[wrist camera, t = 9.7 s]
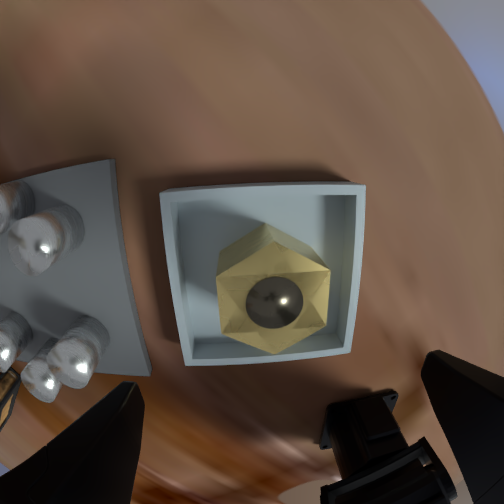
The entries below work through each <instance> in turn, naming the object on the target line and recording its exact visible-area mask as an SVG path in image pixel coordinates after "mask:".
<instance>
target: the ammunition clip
mask: <svg viewBox="0 0 504 504" xmlns="http://www.w3.org/2000/svg"><path fill="white" fill-rule="evenodd" d="M20 383H21V376H20V375H19V374H18V373H17V372H16V371H15V370H14V369H13V368H11V367H9V368H8V370H7V371H6V372H4V373H1V375H0V432H1V430H2V428H3V427H4V425H5V424H6V422H7V420H8V419H9V417H10V416H11V413H12V410H13V406H14V403H15V399H16V396H17V393H18V389H19V386H20Z"/></svg>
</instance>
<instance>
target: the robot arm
mask: <svg viewBox="0 0 504 504" xmlns="http://www.w3.org/2000/svg"><path fill="white" fill-rule="evenodd" d="M421 378H422V381H423V383H424V386H425V389H426V391H427V394H428V396H429V399H430V402H431V405H432V407H433V410H434V412H435V415H436V417H437V419H438V421H439V423H440V425H441V427H442V429H443V432H444V434H445V436H446V438H447V440H448V442H449V445H450V447H451V449H452V451H453V454H454V456H455V458H456V460H457V463H458V465H459V468H460V470H461V472H462V475H463V477H464V480H465V482H466V484H467V487H468V490H469V492H470V495H471V498H472V501H473V502H474V504H504V377H502V376H499V375H497V374H495V373H492V372H490V371H487V370H485V369H483V368H480V367H478V366H476V365H473V364H471V363H469V362H466V361H464V360H462V359H459V358H457V357H455V356H452V355H450V354H448V353H446V352H443V351H441V350H435V351H431V352H429V353H428V354H427V355H426V358H425V361H424V364H423V367H422V370H421ZM397 399H398V393H397V392H396V391H390V392H386V393H382V394H378V395H374V396H370V397H365V398H361V399H356V400H351V401H346V402H340V403H335V404H331V405H329V406H328V407H327V409H326V414H325V419H324V424H323V429H322V433H321V438H320V442H319V447H320V449H322V450H324V449H330V448H332V449H333V452H334V456H335V459H336V462H337V465H338V468H339V472H340V475H341V478H342V480H340V481H338V482H335V483H333V484H330V485H325V486H322V487H321V495H320V503H321V504H451V503H450V501H452V500H454V499H455V498H456V497H457V492H456V489H455V486H454V484H453V481H452V479H451V477H450V475H449V474H448V472H447V470H446V468H445V467H444V465H443V464H442V462H441V461H440V459H439V458H438V456H437V455H436V453H435V452H434V450H433V449H432V447H431V446H430V444H429V443H428V441H427V440H426V438H425V437H422V438H421V439H419V440H418V442H416V443H415V444H413V445H411V446H408V444H407V442H406V440H405V438H404V436H403V434H402V433H401V431H400V427H399V425H398V423H397V422H396V420H395V418H394V416H393V414H392V411H393V409H394V406H395V404H396V401H397ZM144 409H145V404H144V400H143V397H142V394H141V392H140V389H139V386H138V384H137V383H136V382H131V381H123V382H121V383H120V384H119V385H118V386H117V387H115V388H114V389H113V390H112V391H111V392H109V393H108V394H107V395H106V396H105V397H103V398H102V399H101V400H100V401H99V402H97V403H96V404H95V405H94V406H93V407H91V408H90V409H89V410H88V411H87V412H85V413H84V414H83V415H82V416H81V417H79V418H78V419H77V420H76V421H75V422H73V423H72V424H71V425H70V426H68V427H67V428H66V429H65V430H64V431H62V432H61V433H60V434H59V435H57V436H56V437H55V438H54V439H53V440H51V441H50V442H49V443H48V444H47V446H44V447H43V448H41V449H40V450H39V451H38V452H36V453H35V454H34V455H32V456H31V457H30V458H28V459H27V460H26V461H24V462H23V463H21V464H20V465H18V466H17V467H15V468H14V469H12V470H10V471H9V472H7V473H5V474H4V475H2V476H0V504H130V501H131V496H132V490H133V485H134V480H135V474H136V469H137V465H138V460H139V455H140V449H141V439H142V428H143V418H144ZM424 464H426V466H425V467H423V465H424Z"/></svg>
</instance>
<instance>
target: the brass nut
mask: <svg viewBox="0 0 504 504" xmlns="http://www.w3.org/2000/svg"><path fill="white" fill-rule="evenodd" d="M330 271H331V270H330V269H329V268H328V266H327V265H326V264H325V263H324V262H323V260H322V259H321V258H320V257H319V256H318V254H317V253H316V252H315V251H314V250H313V248H312V247H311V246H309V245H307V244H305V243H303V242H301V241H299V240H298V239H296V238H294V237H292V236H290V235H288V234H286V233H284V232H282V231H280V230H278V229H277V228H275V227H273V226H271V225H269V224H267V223H264V224H262V225H261V226H259V227H258V228H256V229H254V230H253V231H251V232H250V233H248V234H246V235H245V236H243V237H242V238H240V239H238V240H237V241H235V242H234V243H232V244H230V245H229V246H227V247H226V248H224V249H222V250H221V251H220V252H219V258H218V265H217V272H216V285H217V296H218V307H219V317H220V327H221V334H223V335H225V336H228V337H230V338H233V339H235V340H238V341H240V342H243V343H245V344H248V345H251V346H253V347H256V348H258V349H261V350H264V351H266V352H269V353H272V354H274V355H275V354H277V353H279V352H280V351H282V350H284V349H286V348H288V347H290V346H292V345H293V344H295V343H297V342H299V341H301V340H302V339H304V338H306V337H308V336H310V335H311V334H313V333H315V332H316V331H318V330H320V329H322V328H323V327H325V326H326V322H327V311H328V299H329V286H330Z"/></svg>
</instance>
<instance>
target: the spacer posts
mask: <svg viewBox="0 0 504 504" xmlns="http://www.w3.org/2000/svg"><path fill="white" fill-rule="evenodd" d="M34 212H35V196H34V193H33V190H32V188H31V187H30V186H29V184H27V183H26V182H24V181H16V182H11V183H6V184H2V185H0V235H2V234H4V233H6V232H8V231H9V234H8V249H9V253H10V256H11V259H12V261H13V262H14V264H15V266H16V267H17V268H18V269H19V270H20V271H21V272H22V273H24V274H26V275H28V276H37V275H39V274H41V273H42V272H43V271H45V270H46V269H48V268H49V267H50V266H52V265H53V264H55V263H56V262H58V261H59V260H61V259H62V258H63V257H65V256H66V255H68V254H69V253H71V252H72V251H74V250H75V249H77V248H78V247H79V246H80V245H81V243H82V242H83V239H84V235H85V226H84V222H83V219H82V217H81V215H80V213H79V212H78V211H77V210H76V209H75V208H74V207H72V206H70V205H67V204H62V205H58V206H55V207H53V208H50V209H47V210H44V211H41V212H39V213H36V214H34ZM32 340H33V331H32V328H31V326H30V324H29V322H28V321H27V320H26V318H25V317H24V316H22V315H21V314H20V313H18V312H15V311H13V312H10V313H9V314H8V315H7V316H6V317H5V318H3V319H2V320H1V321H0V372H2V373H4V372H6V371H7V370H8V368H9V367H10V366H11V365H12V364H13V362H14V361H15V360H16V359H17V358H18V357H19V355H20V354H21V353H22V352H23V351H24V350H25V348H26V347H27V346H28V345H29V344H30V343H31V342H32ZM109 344H110V335H109V332H108V330H107V328H106V327H105V326H104V324H103V323H102V322H101V321H99V320H98V319H96V318H94V317H92V316H89V315H82V316H79V317H78V318H77V319H76V320H75V321H74V322H73V324H72V325H71V326H70V327H69V328H68V330H67V331H66V332H65V333H64V334H63V336H62V337H61V338H60V339H59V338H54V337H53V338H49V339H48V340H47V341H46V342H45V344H44V345H43V346H42V347H41V348H40V350H39V351H38V352H37V353H36V354H35V356H34V357H33V358H32V359H31V361H30V362H29V363H28V364H27V366H26V367H25V368H24V369H23V371H22V372H21V380H22V382H23V384H24V386H25V387H26V389H27V390H28V391H29V392H30V393H31V394H32V395H33V396H35V397H36V398H37V399H39V400H41V401H43V402H47V403H50V402H53V401H54V399H55V397H56V396H57V394H58V392H59V391H60V389H61V387H62V386H63V384H65V385H67V386H69V387H71V388H75V389H81V388H84V387H85V386H86V385H87V383H88V382H89V380H90V378H91V376H92V374H93V372H94V371H95V369H96V367H97V365H98V363H99V362H100V360H101V358H102V356H103V355H104V353H105V351H106V349H107V348H108V346H109Z"/></svg>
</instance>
